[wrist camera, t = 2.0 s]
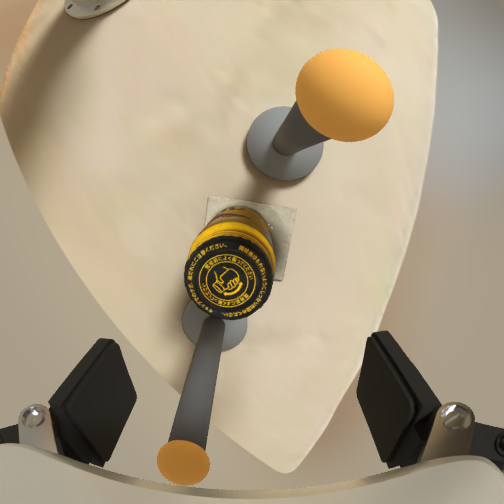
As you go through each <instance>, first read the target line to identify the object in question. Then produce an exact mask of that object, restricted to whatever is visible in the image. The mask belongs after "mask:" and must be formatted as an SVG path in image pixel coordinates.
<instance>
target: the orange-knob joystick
mask: <svg viewBox="0 0 504 504" xmlns="http://www.w3.org/2000/svg"><path fill="white" fill-rule="evenodd" d="M182 325H183V329H184V332H185V334H186V335H187V337H188V338H189V339H190V340H191V341H192V342H193V343H194V344H195V345H196V347H195V351H194V354H193V357H192V361H191V364H190V367H189V371H188V374H187V377H186V381H185V384H184V388H183V391H182V395H181V398H180V401H179V405H178V409H177V412H176V415H175V419H174V423H173V426H172V430H171V433H170V437H169V441H168V443H166V444H165V445H164V446H163V447H162V448H161V449H160V451H159V453H158V456H157V464H158V468H159V470H160V472H161V473H162V475H163V476H164V477H165V478H166V479H168V480H169V481H171V482H173V483H175V484H179V485H193V484H196V483H198V482H200V481H201V480H203V479H204V478H205V477H206V475H207V474H208V471H209V467H210V466H209V465H210V463H209V458H208V456H207V453H206V452H205V449H206V443H207V436H208V429H209V423H210V417H211V411H212V404H213V398H214V392H215V386H216V379H217V373H218V367H219V361H220V355H221V351H226V350H229V349H231V348H234V347H235V346H237V345H238V344H239V343H240V342H241V341H242V340H243V338H244V336H245V334H246V331H247V317H246V318H243V319H238V320H225V319H217V318H214V317H212V316H210V315H209V314H207V313H205V312H203V311H202V310H200V309H199V308H198V307H197V306H196V304H195V303H194V302H193V300H191V301H190V302H189V303H188V305H187V307H186V309H185V311H184V313H183V317H182Z"/></svg>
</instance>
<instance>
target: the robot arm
mask: <svg viewBox="0 0 504 504" xmlns="http://www.w3.org/2000/svg"><path fill="white" fill-rule="evenodd" d="M124 1H126V0H65V2H64V7H65V10H66V12H67V13H68V14H69V15H71V16H72V17H74V18H78V19H87V18H92V17H95V16H98V15H101V14H103V13H105V12H107V11H109V10H111V9H113V8H115V7H116V6H118V5H120V4H121V3H123V2H124ZM357 398H358V400H359V403H360V406H361V408H362V411H363V413H364V416H365V418H366V421H367V424H368V426H369V428H370V431H371V434H372V437H373V439H374V442H375V445H376V447H377V450H378V453H379V455H380V458H381V461H382V462H384V463H385V462H386V463H387V465H388V468H389V469H390V468H393V467H396V466H399V465H400V467H401V468H399V469H395V470H392V471H388V472H385V473H381V474H377V475H373V476H368V477H364V478H359V479H355V480H349V481H344V482H339V483H333V484H327V485H320V486H313V487H304V488H293V489H280V490H218V489H217V490H216V489H204V488H194V487H185V486H177V485H171V484H165V483H159V482H154V481H148V480H144V479H139V478H134V477H130V476H126V475H122V474H118V473H115V472H111V471H107V470H104V469H101V468H97V467H94V466H91V465H89V463H91V464H94V465H97V466H100V467H103V466H104V464H105V462H106V461H109V459H110V457H111V455H112V453H113V450H114V448H115V446H116V444H117V442H118V439H119V437H120V435H121V433H122V430H123V428H124V426H125V424H126V421H127V420H128V417H129V415H130V413H131V411H132V409H133V406H134V405H135V402H136V399H137V395H136V391H135V389H134V386H133V384H132V381H131V378H130V376H129V373H128V370H127V367H126V365H125V362H124V359H123V356H122V353H121V350H120V347H119V345H118V344H117V343H116V342H115V341H114V340H113V339H105V338H100V339H98V340H97V342H96V343H95V344H94V345H93V347H92V348H91V349H90V350H89V351H88V352H87V354H86V355H85V356H84V357H83V358H82V360H81V361H80V362H79V363H78V365H77V366H76V367H75V368H74V369H73V371H72V372H71V373H70V375H69V376H68V377H67V378H66V379H65V381H64V382H63V383H62V385H61V386H60V387H59V388H58V390H57V391H56V392H55V394H54V395H53V396H52V397H51V399H50V400H49V401H48V402H49V404H50V406H51V407H50V408H49V409H48V408H47V407H46V406H44V405H42V404H33V405H30V406H28V407H26V408H25V409H24V410H23V411H22V412H21V413H20V415H19V419H18V424H16V425H13V426H9V427H6V428H2V429H0V504H504V429H503V428H498V427H493V426H489V425H485V424H481V423H477V422H475V416H474V413H473V411H472V410H471V409H470V407H468V406H467V405H465V404H463V403H460V402H449V403H446V404H444V405H441V403H440V401H439V400H438V398H437V397H436V396H435V394H434V393H433V391H432V390H431V388H430V387H429V385H428V384H427V382H426V381H425V380H424V378H423V377H422V375H421V374H420V373H419V371H418V370H417V368H416V367H415V366H414V364H413V363H412V362H411V361H410V360H409V358H408V357H407V356H406V354H405V353H404V352H403V350H402V349H401V347H400V346H399V345H398V343H397V342H396V341H395V340H394V338H393V337H392V335H391V334H390V333H389V332H388V331H380V332H373V333H372V335H371V337H368V338H367V341H366V347H365V353H364V358H363V363H362V368H361V373H360V377H359V382H358V386H357Z"/></svg>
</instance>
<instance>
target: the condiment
mask: <svg viewBox="0 0 504 504" xmlns="http://www.w3.org/2000/svg"><path fill="white" fill-rule="evenodd" d="M296 210H297V209H293V208H287V207H281V206H275V205H269V204H263V203H257V202H250V201H244V200H237V199H230V198H223V197H216V196H208V204H207V212H206V221H205V228H204V229H203V230H202V231H201V232H200V233H199V235H198V236H197V238H196V239H195V240H194V242H193V244H192V246H191V248H190V252H189V256H188V260H187V262H186V265H185V272H184V278H185V280H184V282H185V286H186V288H187V292H188V294H189V296H190V298H191V299H192V300H193V302H194V303H195V304H196V306H197V307H198V308H199V309H200V310H202V311H203V312H205V313H207V314H209V315H210V316H212V317H214V318H217V319H225V320H238V319H243V318H246V317H248V316H250V315H251V314H253V313H254V312H256V311H257V310H258V309H259V308H261V307H262V306H263V304H264V303H265V302H266V301H267V299H268V297H269V295H270V292H271V289H272V285H273V279H277V280H283V278H284V272H285V267H286V262H287V257H288V251H289V246H290V241H291V236H292V231H293V226H294V221H295V216H296ZM268 224H270V225H268ZM271 227H273V229H272V228H271Z"/></svg>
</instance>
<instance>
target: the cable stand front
mask: <svg viewBox="0 0 504 504" xmlns="http://www.w3.org/2000/svg"><path fill="white" fill-rule="evenodd" d="M296 99H297V100H296V102H295V104H294V105H293V107H284V106H283V107H275V108H272V109H269V110H267V111H265V112H263V113H262V114H260V115H259V116H258V117H257V118H256V119H255V120H254V122H253V123H252V125H251V127H250V129H249V132H248V136H247V149H248V153H249V156H250V158H251V160H252V162H253V164H254V165H255V166H256V167H257V168H258V169H259V170H260V171H261V172H262V173H264V174H265V175H267V176H269V177H271V178H274V179H277V180H286V181H288V180H295V179H299V178H302V177H304V176H306V175H307V174H309V173H310V172H311V171H312V170H313V169H314V168H315V167H316V166H317V164H318V163H319V161H320V159H321V156H322V153H323V142H324V141H327V140H329V139H334V140H338V141H344V142H355V141H361V140H365V139H367V138H370V137H372V136H374V135H375V134H377V133H378V132H379V131H380V130H381V129H382V128H383V127H384V126H385V125H386V124H387V122H388V120H389V118H390V116H391V114H392V111H393V105H394V94H393V88H392V85H391V83H390V80H389V78H388V76H387V75H386V73H385V72H384V70H383V69H382V68H381V67H380V66H379V65H378V64H377V63H376V62H375V61H374V60H372V59H371V58H370V57H368V56H366V55H364V54H362V53H360V52H357V51H354V50H349V49H331V50H327V51H324V52H321V53H319V54H317V55H315V56H314V57H312V58H311V59H310V60H309V61H308V62H307V63H306V64H305V65H304V66H303V68H302V69H301V71H300V73H299V75H298V78H297V82H296Z"/></svg>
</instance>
